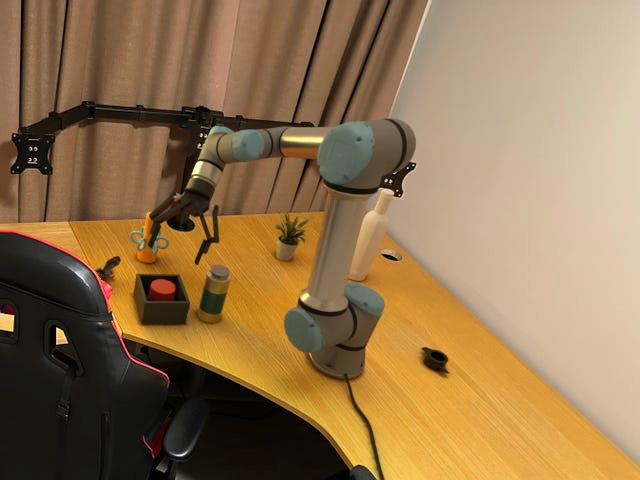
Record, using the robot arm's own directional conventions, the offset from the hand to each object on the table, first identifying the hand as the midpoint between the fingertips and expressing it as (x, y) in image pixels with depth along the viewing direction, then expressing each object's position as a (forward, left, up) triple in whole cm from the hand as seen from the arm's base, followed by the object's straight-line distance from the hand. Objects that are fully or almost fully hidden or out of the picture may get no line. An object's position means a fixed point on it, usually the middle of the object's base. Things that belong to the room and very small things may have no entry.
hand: (172, 255), depth 170 cm
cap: (-2, +2, -16) cm, 16 cm away
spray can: (-5, -12, -17) cm, 21 cm away
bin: (-2, +2, -17) cm, 17 cm away
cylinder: (+24, +1, -17) cm, 29 cm away
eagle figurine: (+13, +15, -17) cm, 26 cm away
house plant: (+27, -45, -17) cm, 55 cm away
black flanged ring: (-27, -73, -17) cm, 80 cm away
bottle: (+17, -68, -17) cm, 72 cm away
